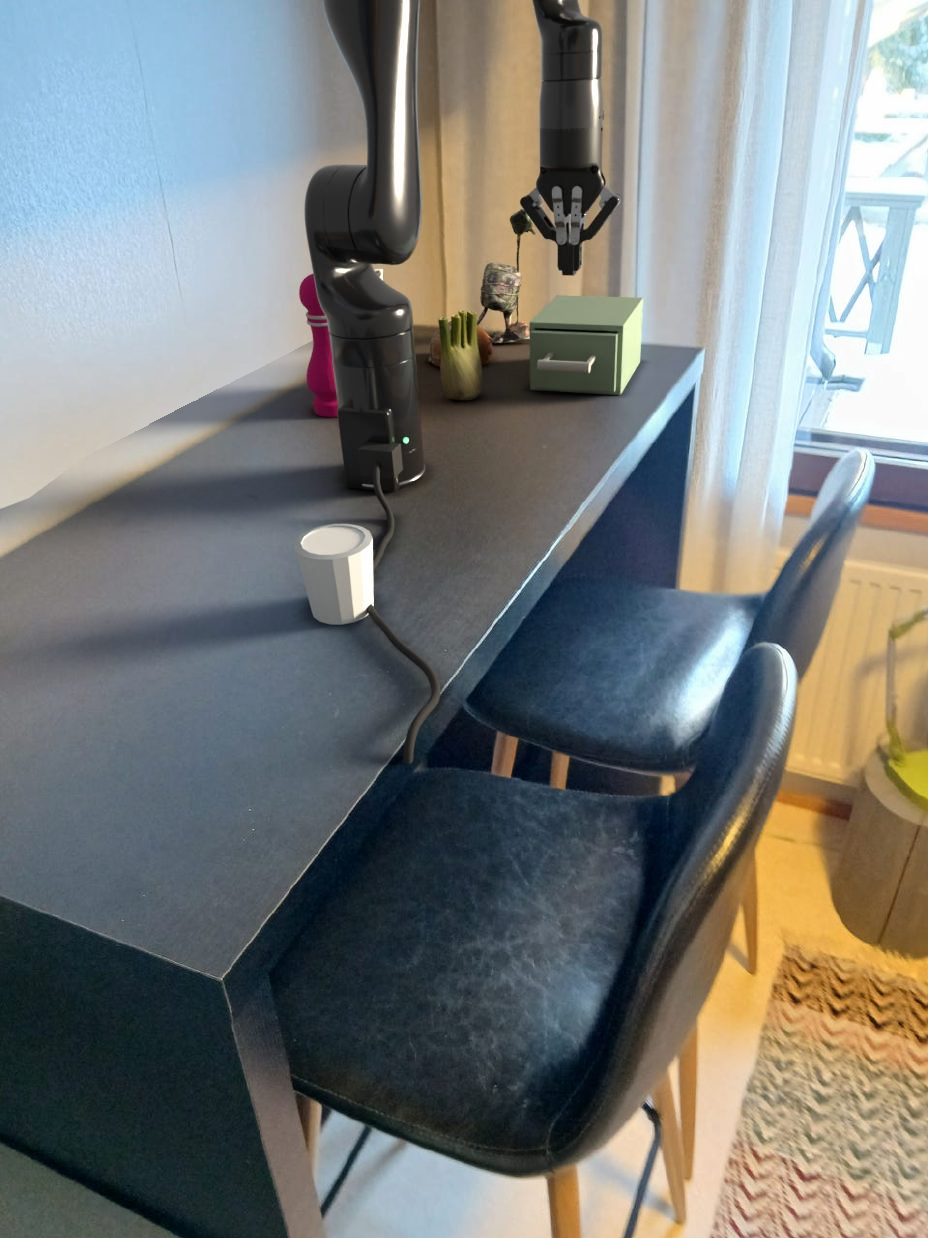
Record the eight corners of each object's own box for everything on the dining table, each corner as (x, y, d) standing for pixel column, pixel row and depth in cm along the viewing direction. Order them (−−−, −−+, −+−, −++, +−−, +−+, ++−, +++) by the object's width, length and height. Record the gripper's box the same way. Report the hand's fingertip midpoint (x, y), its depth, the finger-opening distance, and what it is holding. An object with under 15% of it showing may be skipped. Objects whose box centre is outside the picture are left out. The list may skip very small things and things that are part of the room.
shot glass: (343, 582, 89) (334, 515, 85) (395, 603, 85) (388, 534, 82) (289, 613, 85) (277, 544, 81) (342, 636, 81) (331, 566, 77)
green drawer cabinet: (620, 395, 130) (623, 325, 125) (530, 389, 134) (529, 322, 129) (640, 362, 143) (643, 297, 138) (556, 357, 147) (556, 294, 141)
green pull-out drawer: (605, 406, 124) (607, 347, 120) (519, 400, 128) (518, 343, 124) (633, 361, 140) (635, 308, 136) (555, 357, 144) (555, 305, 139)
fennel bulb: (442, 405, 131) (437, 317, 124) (442, 393, 135) (436, 308, 128) (484, 402, 131) (480, 315, 124) (482, 391, 135) (478, 306, 128)
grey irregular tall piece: (486, 330, 162) (481, 206, 152) (548, 334, 158) (548, 206, 148) (469, 343, 156) (463, 214, 145) (533, 347, 152) (532, 215, 141)
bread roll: (434, 376, 153) (411, 334, 148) (487, 342, 153) (465, 299, 148) (452, 394, 145) (427, 351, 140) (507, 358, 145) (485, 313, 140)
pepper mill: (359, 417, 128) (342, 264, 117) (307, 419, 128) (285, 267, 118) (365, 400, 134) (349, 253, 123) (315, 402, 134) (295, 255, 124)
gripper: (508, 127, 110) (512, 279, 119) (620, 124, 106) (614, 282, 115) (526, 121, 116) (528, 267, 125) (632, 118, 112) (626, 268, 121)
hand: (569, 273), depth 120 cm, fingers closed
